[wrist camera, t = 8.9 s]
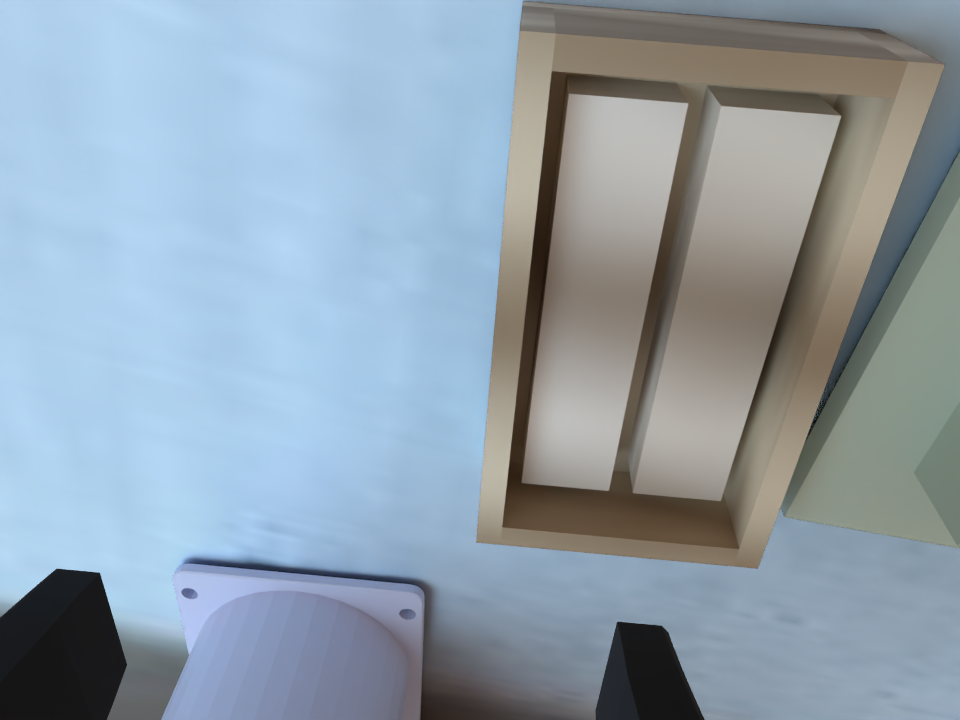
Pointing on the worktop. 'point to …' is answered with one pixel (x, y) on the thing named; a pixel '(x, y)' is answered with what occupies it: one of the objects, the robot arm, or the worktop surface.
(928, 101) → the box
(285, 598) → the robot arm
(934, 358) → the lid
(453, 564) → the worktop surface
